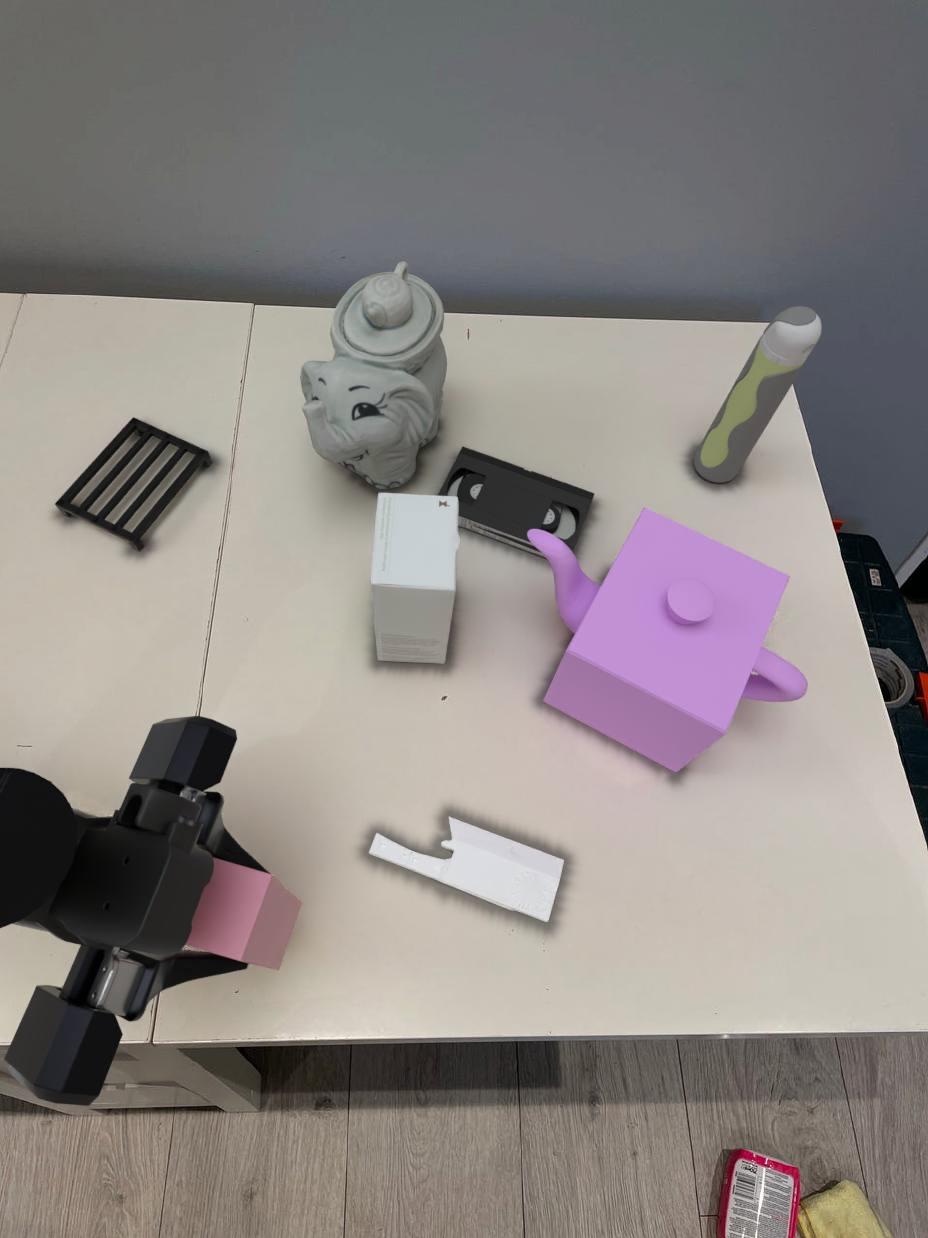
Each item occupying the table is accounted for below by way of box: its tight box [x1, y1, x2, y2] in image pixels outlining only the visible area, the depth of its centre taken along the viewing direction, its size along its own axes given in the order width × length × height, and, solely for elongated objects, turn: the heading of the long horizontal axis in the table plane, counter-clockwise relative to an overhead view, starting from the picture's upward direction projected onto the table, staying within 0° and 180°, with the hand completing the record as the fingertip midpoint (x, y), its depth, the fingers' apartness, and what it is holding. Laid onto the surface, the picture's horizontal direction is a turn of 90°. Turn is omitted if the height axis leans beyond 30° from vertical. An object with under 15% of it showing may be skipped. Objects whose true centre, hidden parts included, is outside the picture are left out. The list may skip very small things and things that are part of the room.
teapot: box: [527, 506, 809, 774], centre depth 62 cm, size 15×25×14 cm, turn 61°
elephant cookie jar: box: [299, 260, 448, 490], centre depth 68 cm, size 16×15×19 cm
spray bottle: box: [693, 305, 823, 484], centre depth 69 cm, size 5×5×20 cm
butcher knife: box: [368, 816, 565, 923], centre depth 59 cm, size 5×15×1 cm, turn 70°
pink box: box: [185, 858, 303, 971], centre depth 45 cm, size 5×4×13 cm
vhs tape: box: [437, 445, 595, 560], centre depth 73 cm, size 14×8×2 cm, turn 68°
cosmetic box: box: [370, 492, 461, 665], centre depth 61 cm, size 8×7×16 cm
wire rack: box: [54, 416, 213, 552], centre depth 72 cm, size 12×9×2 cm
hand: (258, 922), depth 44 cm, fingers closed on pink box, 4 cm apart
